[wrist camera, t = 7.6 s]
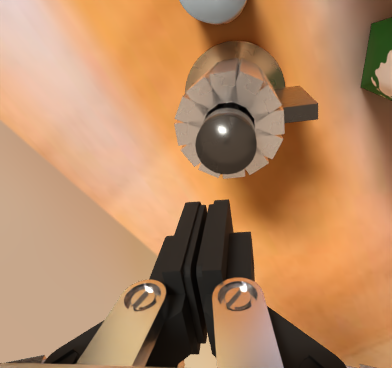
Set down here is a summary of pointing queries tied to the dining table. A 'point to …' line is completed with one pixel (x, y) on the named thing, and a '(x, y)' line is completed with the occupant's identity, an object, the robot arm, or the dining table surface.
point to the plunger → (226, 140)
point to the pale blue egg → (214, 10)
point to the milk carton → (379, 60)
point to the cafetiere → (241, 99)
